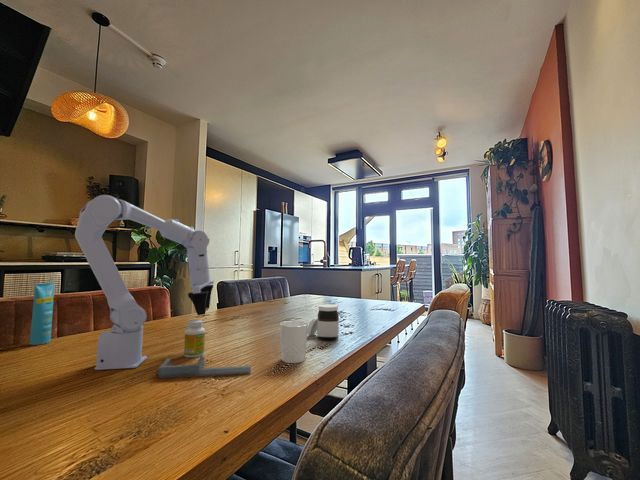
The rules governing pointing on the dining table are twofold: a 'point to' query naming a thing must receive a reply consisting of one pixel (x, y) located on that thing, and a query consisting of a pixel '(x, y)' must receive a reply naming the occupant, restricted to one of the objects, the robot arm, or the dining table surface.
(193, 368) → the rail
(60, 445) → the dining table surface
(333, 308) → the spread jar
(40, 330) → the tube
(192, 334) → the supplement bottle
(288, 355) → the white cup
